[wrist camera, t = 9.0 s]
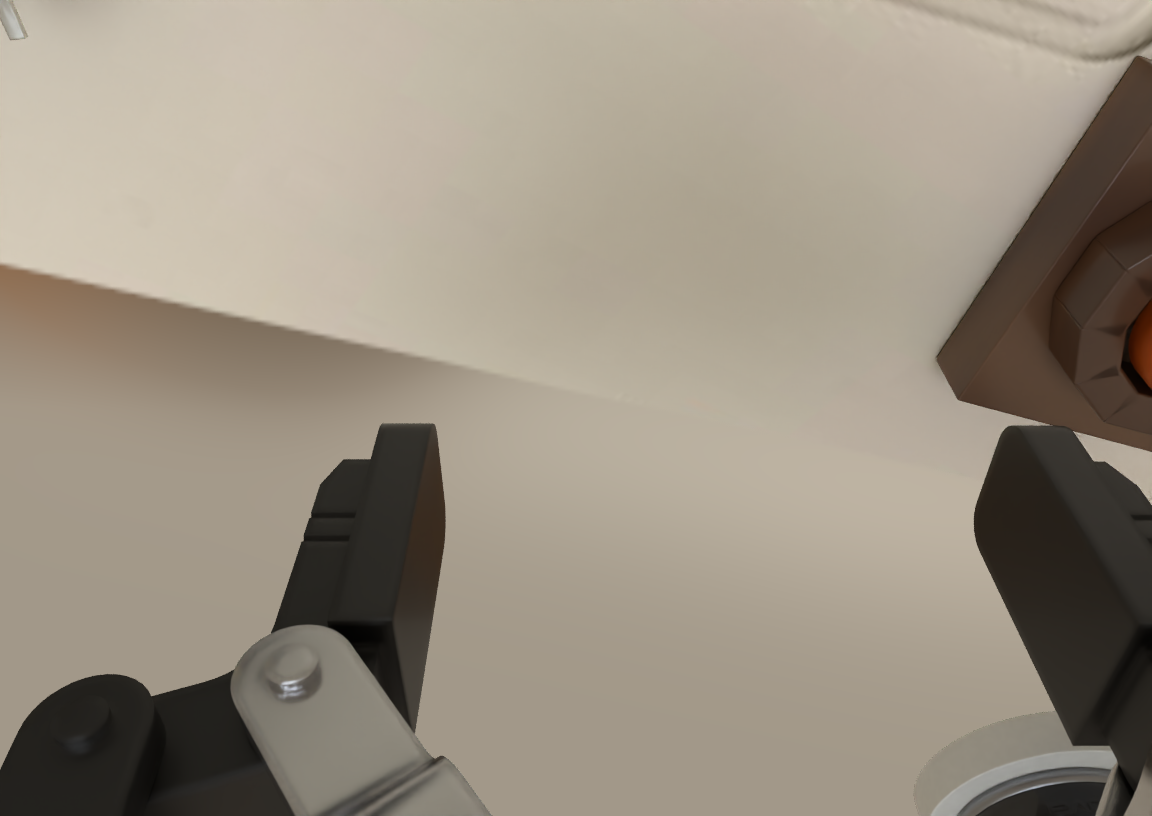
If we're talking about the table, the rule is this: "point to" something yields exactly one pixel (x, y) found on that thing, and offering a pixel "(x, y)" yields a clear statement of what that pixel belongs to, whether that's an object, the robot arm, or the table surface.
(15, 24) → the stove panel
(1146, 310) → the button
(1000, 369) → the button block
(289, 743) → the robot arm
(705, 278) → the table surface
